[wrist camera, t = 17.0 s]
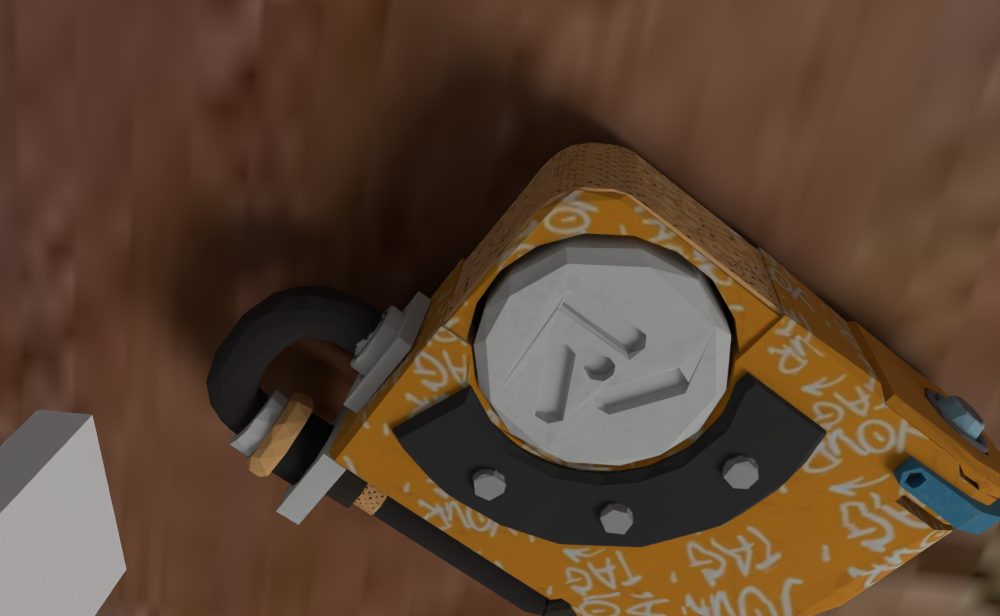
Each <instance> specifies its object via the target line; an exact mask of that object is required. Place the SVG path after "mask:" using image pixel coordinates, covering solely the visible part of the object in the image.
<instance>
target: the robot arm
mask: <svg viewBox="0 0 1000 616" xmlns="http://www.w3.org/2000/svg"><path fill="white" fill-rule="evenodd" d="M125 570H126V566H125V561H124V557H123V552H122V548H121V543H120V538H119V534H118V529H117V525H116V520H115V516H114V511H113V507H112V502H111V498H110V493H109V488H108V484H107V479H106V475H105V470H104V466H103V461H102V457H101V452H100V447H99V443H98V438H97V434H96V429H95V425H94V420H93V416H92V415H87V414H77V413H66V412H56V411H46V410H37V411H36V412H35V413H34V414H33V415H32V416H31V417H30V418H29V419H28V420H27V421H26V422H25V423H24V424H23V425H22V426H21V427H20V428H18V429H17V430H16V431H15V432H14V433H13V434H12V435H11V436H10V437H9V438H8V439H7V440H6V441H5V442H4V443H3V444H2V445H1V446H0V616H95V614H96V613H97V611H98V610H99V609H100V607H101V606H102V604H103V603H104V601H105V600H106V598H107V597H108V595H109V594H110V592H111V591H112V590H113V588H114V587H115V585H116V584H117V582H118V581H119V579H120V578H121V576H122V575H123V573H124V572H125Z"/></svg>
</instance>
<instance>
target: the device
mask: <svg viewBox="0 0 1000 616" xmlns="http://www.w3.org/2000/svg"><path fill="white" fill-rule="evenodd" d="M301 338H315V339H321V340H325V341H329V342H333V343H335V344H336V345H338V346H340V347H341V348H343V349H345V350H346V351H348V352H350V353H351V354H353V355H354V357H353V359H352V361H351V363H350V365H351V367H352V368H354V369H355V370H357V371H358V372H359V374H358V376H357V378H356V380H355V382H354V384H353V386H352V388H351V390H350V392H349V394H348V396H347V398H346V400H345V402H344V404H343V405H344V407H343V409H342V410H341V411H340V412H339V414H338V415H337V416H336V417H335V419H334V420H333V421H332V422H331V423H330V424H329V423H328V422H326V421H325V420H323V419H321V418H320V417H318V416H316V415H315V414H313V413H312V411H313V406H314V404H313V399H311V398H310V397H308V396H306V395H305V394H303V393H295V392H294V393H293V394H292V395H291V396H290V397H288V396H287V395H285V394H284V393H282V392H281V391H280V390H278V389H275V390H272V391H271V392H270V393H269V394H268V395H266V394H265V393H264V392H263V391H262V390H261V388H260V387H259V380H260V378H261V376H262V375H263V373H264V371H265V369H266V367H267V366H268V365H269V364H270V363H271V362H272V361H273V359H274V358H275V357H276V356H277V355H278V354H279V353H280V352H281V351H282V350H283V349H284V348H286V347H288V346H289V345H291V344H293V343H294V342H296V341H297V340H299V339H301ZM206 382H207V387H208V393H209V398H210V404H211V406H212V407H213V409H214V410H215V412H216V413H217V415H218V417H219V418H220V420H221V421H222V422H223V423H224V424H225V425H226V426H227V427H228V428H229V429H230V430H232V431H233V432H235V433H236V434H235V436H234V437H233V439H232V441H231V443H230V445H232V446H233V447H235V448H236V449H238V450H239V451H240V452H242V453H243V454H245V455H246V456H248V458H247V459H246V464H247V466H248V468H249V470H250V471H251V472H253V473H254V474H256V475H257V476H259V477H262V476H268V475H269V474H270V473H271V472H273V473H274V474H276V475H277V476H279V477H281V478H282V479H284V480H285V481H287V482H288V483H290V485H289V487H288V489H287V491H286V493H285V495H284V497H283V499H282V501H281V503H280V505H279V507H278V509H277V512H278V513H280V514H282V515H283V516H285V517H287V518H288V519H290V520H291V521H293V522H295V523H296V524H298V525H299V524H300V522H301V521H302V520H303V519H304V518H305V517H306V515H307V514H308V513H309V512H310V511H311V510H312V509H313V507H314V506H315V505H316V504H317V503H318V502H319V500H320V499H321V498H322V497H323V496H324V495H325V494H326V495H327V496H329V497H330V498H332V499H333V500H335V501H336V502H338V503H340V504H341V505H343V506H344V507H346V508H349V507H350V506H351V505H352V504H355V505H356V506H358V507H359V508H361V509H363V510H364V511H366V512H367V513H369V514H370V515H374V516H375V517H377V518H378V519H380V520H382V521H383V522H385V523H386V524H388V525H389V526H391V527H393V528H394V529H396V530H397V531H399V532H400V533H402V534H404V535H405V536H407V537H408V538H410V539H411V540H413V541H415V542H416V543H418V544H419V545H421V546H423V547H424V548H426V549H427V550H429V551H430V552H432V553H434V554H435V555H437V556H438V557H440V558H441V559H443V560H445V561H446V562H448V563H449V564H451V565H452V566H454V567H456V568H457V569H459V570H460V571H462V572H463V573H465V574H467V575H468V576H470V577H471V578H473V579H475V580H476V581H478V582H479V583H481V584H482V585H484V586H486V587H487V588H489V589H490V590H492V591H493V592H495V593H497V594H498V595H500V596H501V597H503V598H504V599H506V600H508V601H509V602H511V603H512V604H514V605H515V606H517V607H519V608H520V609H522V610H523V611H525V612H529V613H533V614H538V615H542V616H814V615H816V614H818V613H821V612H824V611H827V610H830V609H833V608H835V607H838V606H841V605H843V604H844V603H846V602H847V601H849V600H850V599H852V598H853V597H855V596H856V595H858V594H859V593H861V592H862V591H864V590H865V589H867V588H868V587H870V586H871V585H872V584H874V583H875V582H877V581H878V580H880V579H881V578H883V577H884V576H886V575H887V574H889V573H890V572H892V571H893V570H895V569H896V568H898V567H899V566H901V565H902V564H904V563H905V562H907V561H908V560H910V559H911V558H913V557H914V556H916V555H917V554H919V553H920V552H922V551H923V550H925V549H926V548H928V547H929V546H931V545H932V544H934V543H935V542H937V541H938V540H940V539H941V538H943V537H944V536H946V535H947V534H948V533H950V532H951V531H953V528H952V526H953V527H955V528H956V529H960V530H963V531H967V532H971V533H974V534H978V535H979V534H980V533H982V532H983V531H985V530H986V529H988V528H989V527H991V526H992V525H994V524H995V523H996V522H998V521H999V520H1000V452H999V451H998V450H997V448H996V447H995V446H994V444H993V443H992V442H991V440H990V439H989V438H988V436H987V435H986V434H985V433H984V432H983V431H982V430H983V428H984V427H985V426H984V421H983V419H982V418H981V417H980V416H979V415H978V414H977V412H976V411H975V410H974V409H973V408H972V407H971V406H970V405H969V404H968V403H967V402H965V401H964V400H963V399H962V398H960V397H958V396H947V395H946V394H945V393H944V392H943V391H942V390H941V389H940V388H938V387H937V386H936V385H934V384H933V383H931V382H930V381H928V380H927V379H926V378H924V377H923V376H922V375H921V374H919V373H918V372H917V371H915V370H914V369H913V368H912V367H910V366H909V365H908V364H907V363H905V362H904V361H903V360H902V359H900V358H899V357H898V356H897V355H896V354H894V353H893V352H892V351H891V350H889V349H888V348H887V347H886V346H885V345H883V344H882V343H881V342H880V341H878V340H877V339H876V338H875V337H874V336H872V335H871V334H870V333H869V332H867V331H866V330H865V329H864V328H863V327H861V326H860V325H859V324H858V323H857V322H855V321H845V320H844V319H843V318H842V317H841V316H839V315H838V314H837V313H836V312H835V311H834V310H832V309H831V308H830V307H829V306H828V305H827V304H825V303H824V302H823V301H822V300H821V299H820V298H819V297H817V296H816V295H815V294H814V293H813V292H812V291H810V290H809V289H808V288H807V287H806V286H805V285H804V284H802V283H801V282H800V281H799V280H798V279H797V278H795V277H794V276H793V275H792V274H791V273H790V272H789V271H787V270H786V269H785V268H784V267H783V266H782V265H780V264H779V263H778V262H777V261H776V260H775V259H774V258H772V257H771V256H770V255H769V254H768V253H767V252H765V251H764V250H763V249H762V248H761V247H760V246H759V247H758V248H757V249H756V248H755V247H754V246H752V245H751V244H750V243H749V242H747V241H746V240H745V239H744V238H742V237H741V236H740V235H738V234H737V233H736V232H735V231H733V230H732V229H731V228H730V227H728V226H727V225H726V224H724V223H723V222H722V221H721V220H719V219H718V218H717V217H716V216H714V215H713V214H712V213H710V212H709V211H708V210H707V209H705V208H704V207H703V206H702V205H700V204H699V203H698V202H697V201H695V200H694V199H693V198H691V197H690V196H689V195H688V194H686V193H685V192H684V191H683V190H681V189H680V188H679V187H678V186H676V185H675V184H674V183H672V182H671V181H670V180H669V179H667V178H666V177H665V176H664V175H662V174H661V173H660V172H659V171H657V170H656V169H655V168H654V167H652V166H651V165H650V164H649V163H647V162H646V161H645V160H643V159H642V158H641V157H640V156H638V155H637V154H636V153H635V152H633V151H631V150H629V149H626V148H624V147H622V146H617V145H611V144H603V143H593V142H590V143H584V144H577V145H572V146H570V147H568V148H566V149H564V150H562V151H560V152H558V153H557V154H556V155H554V156H553V157H552V158H551V159H550V160H549V161H548V162H547V163H546V164H545V165H543V167H542V168H541V169H540V170H539V171H538V173H537V174H536V175H535V176H534V178H533V179H532V180H531V181H530V183H529V184H528V185H527V186H526V188H525V189H524V190H523V191H522V193H521V194H520V195H519V196H518V198H517V199H516V200H515V201H514V203H513V204H512V205H511V206H510V207H509V209H508V210H507V211H506V212H505V213H504V215H503V216H502V217H501V218H500V219H499V221H498V222H497V223H496V224H495V226H494V227H493V228H492V229H491V230H490V232H489V233H488V234H487V235H486V236H485V238H484V239H483V240H482V241H481V243H480V244H479V245H478V246H477V247H476V249H475V250H474V251H473V252H472V253H471V255H470V256H469V257H468V258H467V259H464V258H462V259H461V261H460V262H459V263H458V264H457V266H456V267H455V268H454V269H453V271H452V272H451V273H450V274H449V276H448V277H447V278H446V279H445V280H444V282H443V283H442V284H441V285H440V287H439V288H438V289H437V290H436V292H435V293H434V294H433V295H432V297H431V298H430V299H429V298H428V297H427V296H425V295H424V294H422V293H421V292H419V291H418V293H417V294H416V295H415V296H414V298H413V299H412V300H411V301H410V303H409V304H408V305H407V306H406V308H405V309H404V310H403V311H402V312H401V311H400V310H398V309H397V308H396V307H394V306H390V307H389V308H388V309H387V310H386V311H385V312H383V311H382V310H380V309H378V308H376V307H374V306H373V305H371V304H369V303H367V302H365V301H364V300H362V299H360V298H358V297H357V296H355V295H352V294H349V293H346V292H343V291H339V290H336V289H333V288H330V287H326V286H300V287H295V288H291V289H287V290H284V291H280V292H276V293H273V294H272V295H270V296H269V297H267V298H266V299H265V300H263V301H262V302H260V303H259V304H257V305H256V306H255V307H253V308H252V309H250V310H249V311H248V312H246V313H245V314H244V315H243V316H242V317H241V319H240V320H239V321H238V323H237V324H236V326H235V327H234V328H233V330H232V331H231V332H230V334H229V335H228V336H227V338H226V339H225V340H224V342H223V343H222V344H221V346H220V347H219V348H218V350H217V351H216V354H215V357H214V360H213V363H212V366H211V369H210V372H209V375H208V378H207V381H206Z"/></svg>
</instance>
